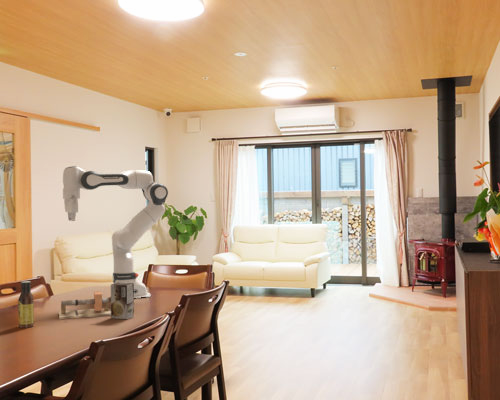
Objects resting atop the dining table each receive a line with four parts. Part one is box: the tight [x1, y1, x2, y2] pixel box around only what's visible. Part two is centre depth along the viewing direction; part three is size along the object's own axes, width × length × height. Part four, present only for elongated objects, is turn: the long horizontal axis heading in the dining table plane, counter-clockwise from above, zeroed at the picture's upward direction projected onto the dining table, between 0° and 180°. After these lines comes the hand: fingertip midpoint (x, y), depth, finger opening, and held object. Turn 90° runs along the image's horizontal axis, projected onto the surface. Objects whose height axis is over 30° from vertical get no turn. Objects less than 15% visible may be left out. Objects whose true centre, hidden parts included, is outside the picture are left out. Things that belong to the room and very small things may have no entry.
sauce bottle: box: [17, 280, 35, 329], centre depth 234 cm, size 6×6×20 cm
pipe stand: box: [58, 297, 111, 320], centre depth 260 cm, size 24×14×7 cm, turn 111°
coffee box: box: [110, 283, 135, 320], centre depth 252 cm, size 9×6×16 cm
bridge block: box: [93, 291, 103, 311], centre depth 262 cm, size 3×8×8 cm, turn 21°
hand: (71, 220), depth 294 cm, fingers open, 8 cm apart
